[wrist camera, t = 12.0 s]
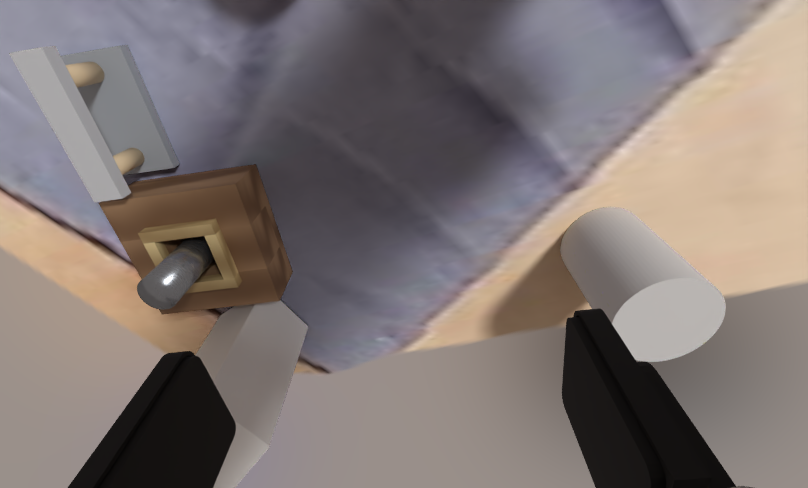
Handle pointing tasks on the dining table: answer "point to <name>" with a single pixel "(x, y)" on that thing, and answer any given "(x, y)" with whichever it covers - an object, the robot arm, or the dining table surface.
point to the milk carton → (252, 376)
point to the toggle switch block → (206, 234)
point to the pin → (175, 273)
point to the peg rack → (98, 115)
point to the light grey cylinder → (641, 284)
